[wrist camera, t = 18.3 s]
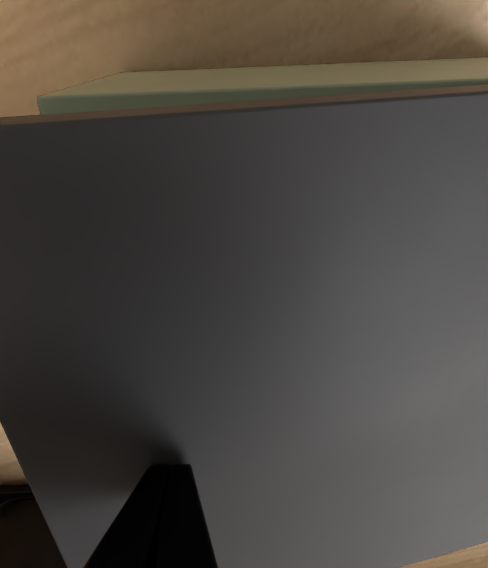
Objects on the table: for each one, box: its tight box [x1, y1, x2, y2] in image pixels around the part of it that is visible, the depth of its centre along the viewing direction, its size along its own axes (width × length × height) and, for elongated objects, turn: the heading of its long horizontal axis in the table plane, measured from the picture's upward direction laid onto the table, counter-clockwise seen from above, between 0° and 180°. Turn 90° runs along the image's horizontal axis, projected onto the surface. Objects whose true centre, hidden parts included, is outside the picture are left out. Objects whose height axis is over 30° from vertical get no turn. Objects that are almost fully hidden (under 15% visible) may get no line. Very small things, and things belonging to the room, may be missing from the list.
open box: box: [37, 57, 488, 115], centre depth 14 cm, size 13×14×7 cm
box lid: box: [0, 84, 488, 568], centre depth 10 cm, size 13×14×1 cm
